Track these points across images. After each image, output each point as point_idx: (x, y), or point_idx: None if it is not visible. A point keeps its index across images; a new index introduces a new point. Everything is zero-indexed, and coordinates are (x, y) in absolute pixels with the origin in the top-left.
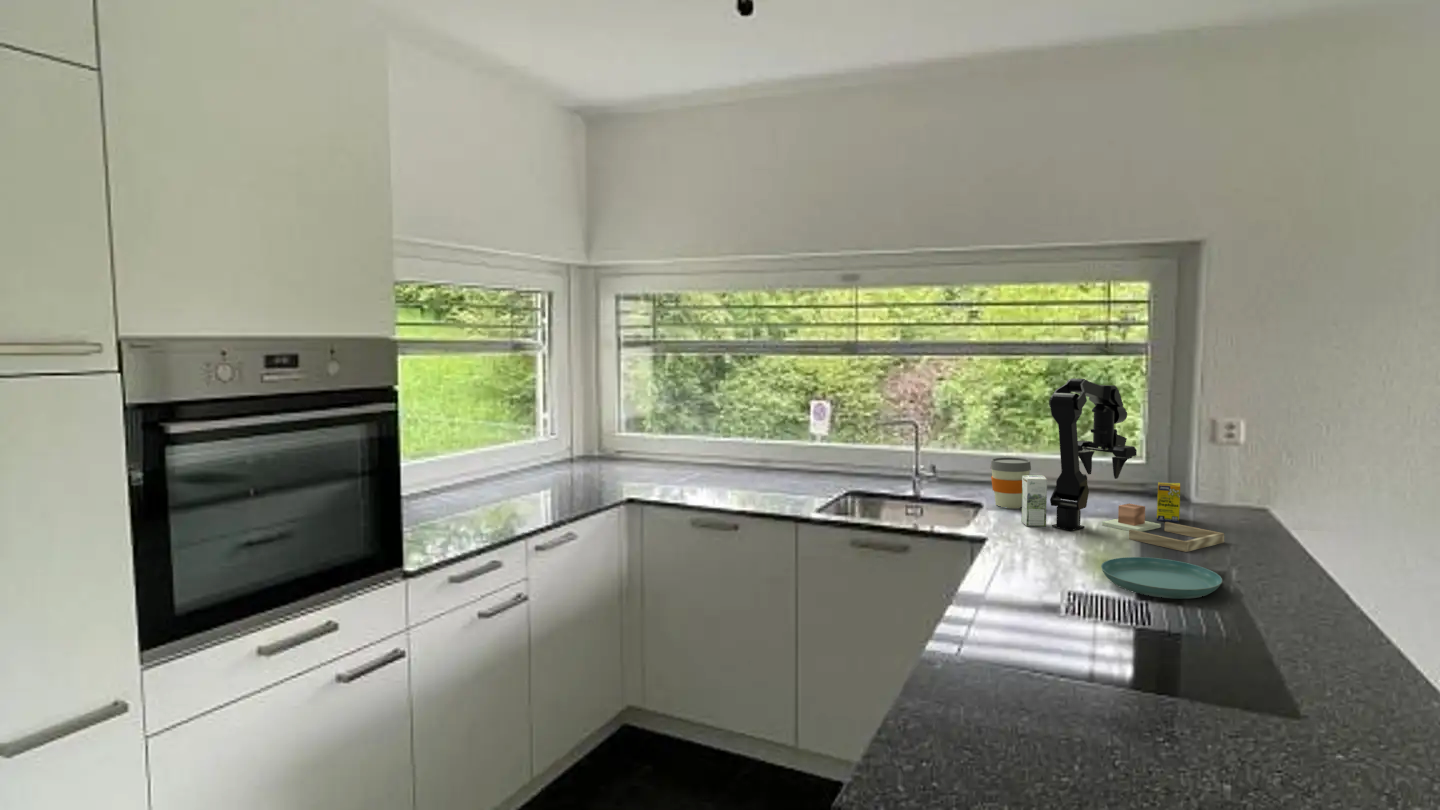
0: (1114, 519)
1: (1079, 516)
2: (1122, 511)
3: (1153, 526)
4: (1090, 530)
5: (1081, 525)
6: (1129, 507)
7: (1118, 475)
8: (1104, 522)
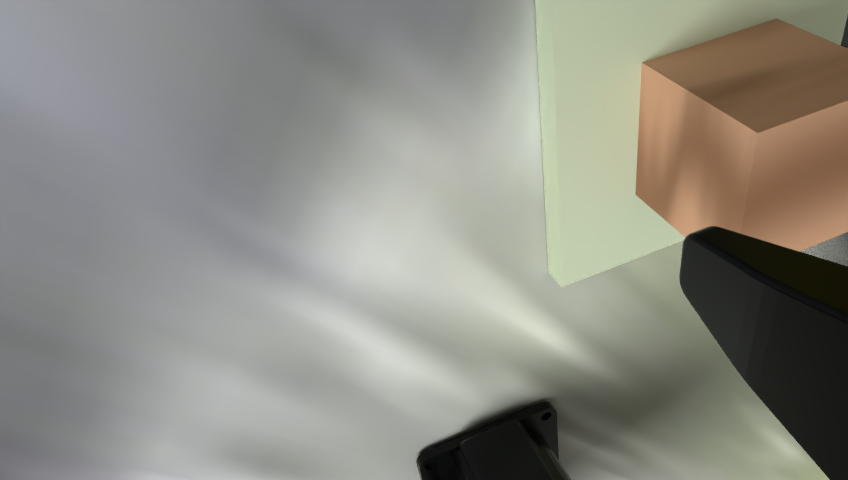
0: (561, 162)
1: (555, 475)
2: None
3: (843, 7)
4: (594, 386)
5: (531, 416)
6: (825, 236)
7: (775, 262)
8: (579, 279)
